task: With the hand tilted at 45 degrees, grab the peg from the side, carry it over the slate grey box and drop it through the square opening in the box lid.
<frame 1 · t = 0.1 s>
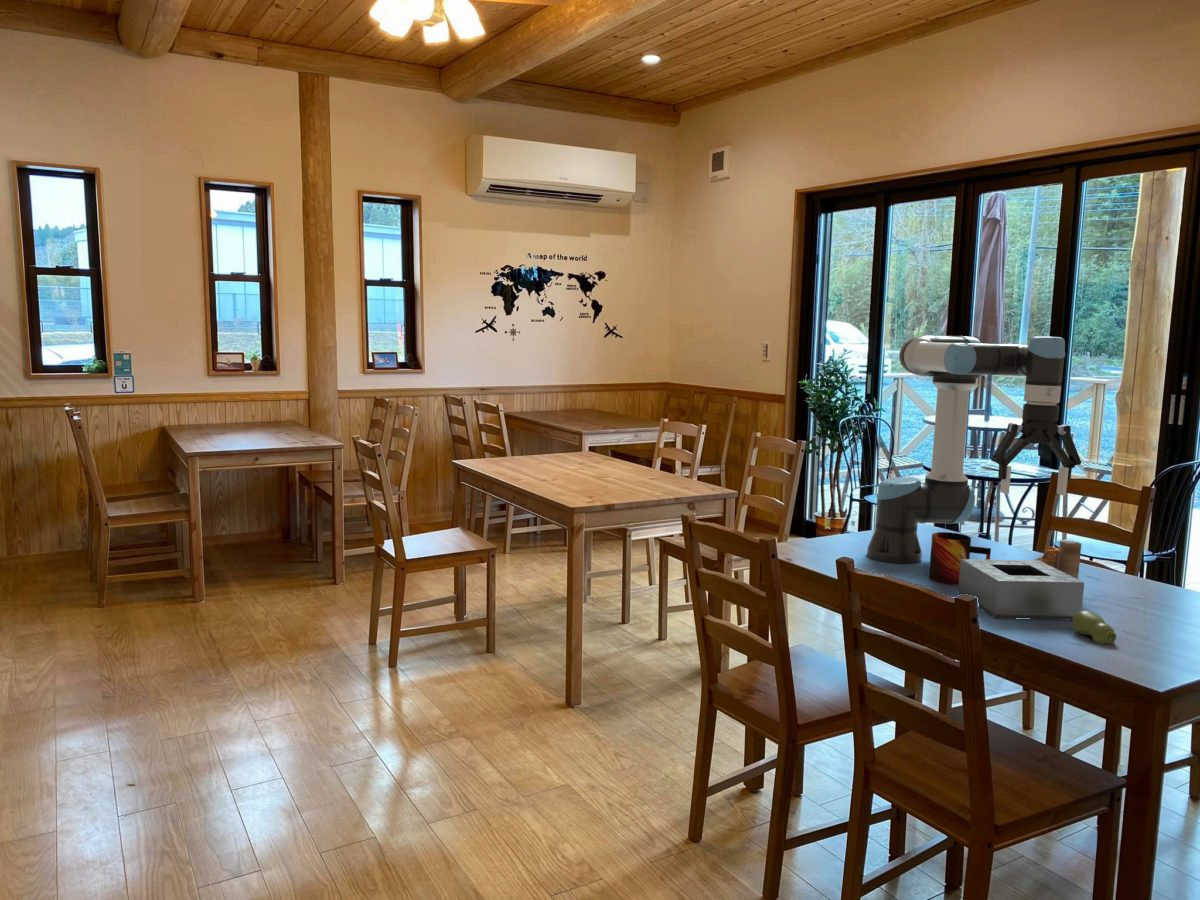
hand: (1032, 493, 209), 28 cm above the table, tool pointing down, fingers open, 13 cm apart
peg: (1065, 597, 224), on the table
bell: (1050, 574, 249), on the table
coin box: (1016, 606, 215), on the table
mug: (955, 581, 238), on the table
pear: (1093, 639, 193), on the table
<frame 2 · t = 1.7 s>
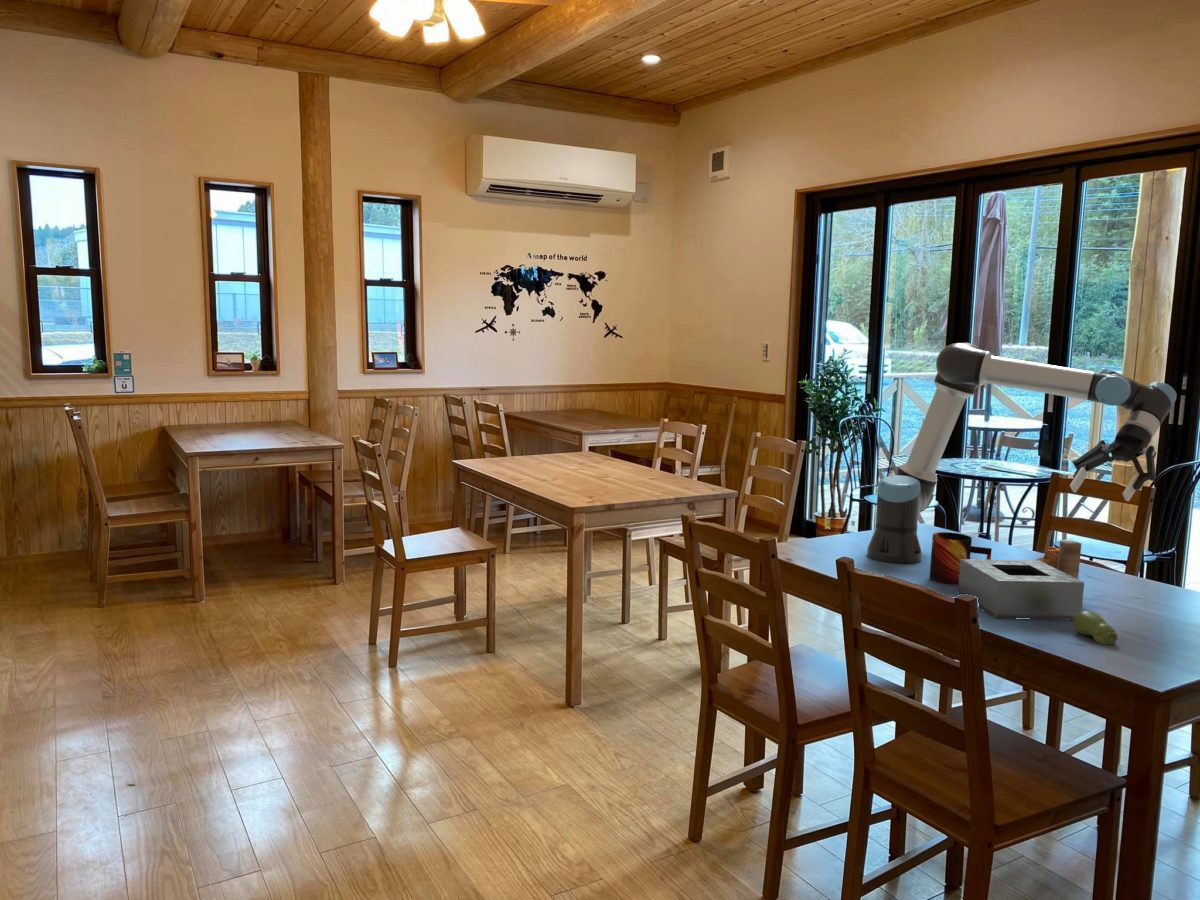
hand: (1098, 493, 226), 26 cm above the table, tool tilted 45°, fingers open, 13 cm apart
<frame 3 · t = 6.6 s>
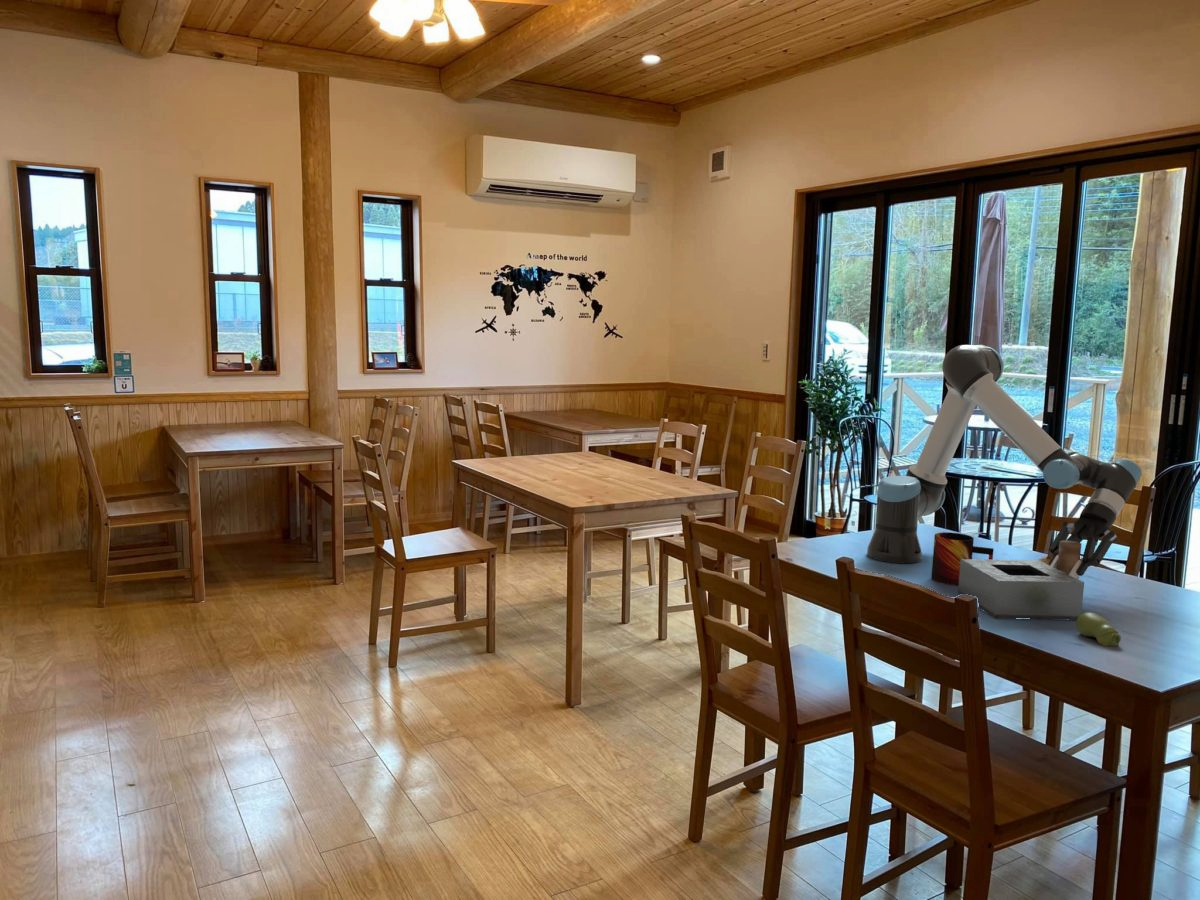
hand: (1058, 580, 222), 5 cm above the table, tool tilted 45°, fingers closed on peg, 5 cm apart
peg: (1065, 597, 224), on the table, touching gripper
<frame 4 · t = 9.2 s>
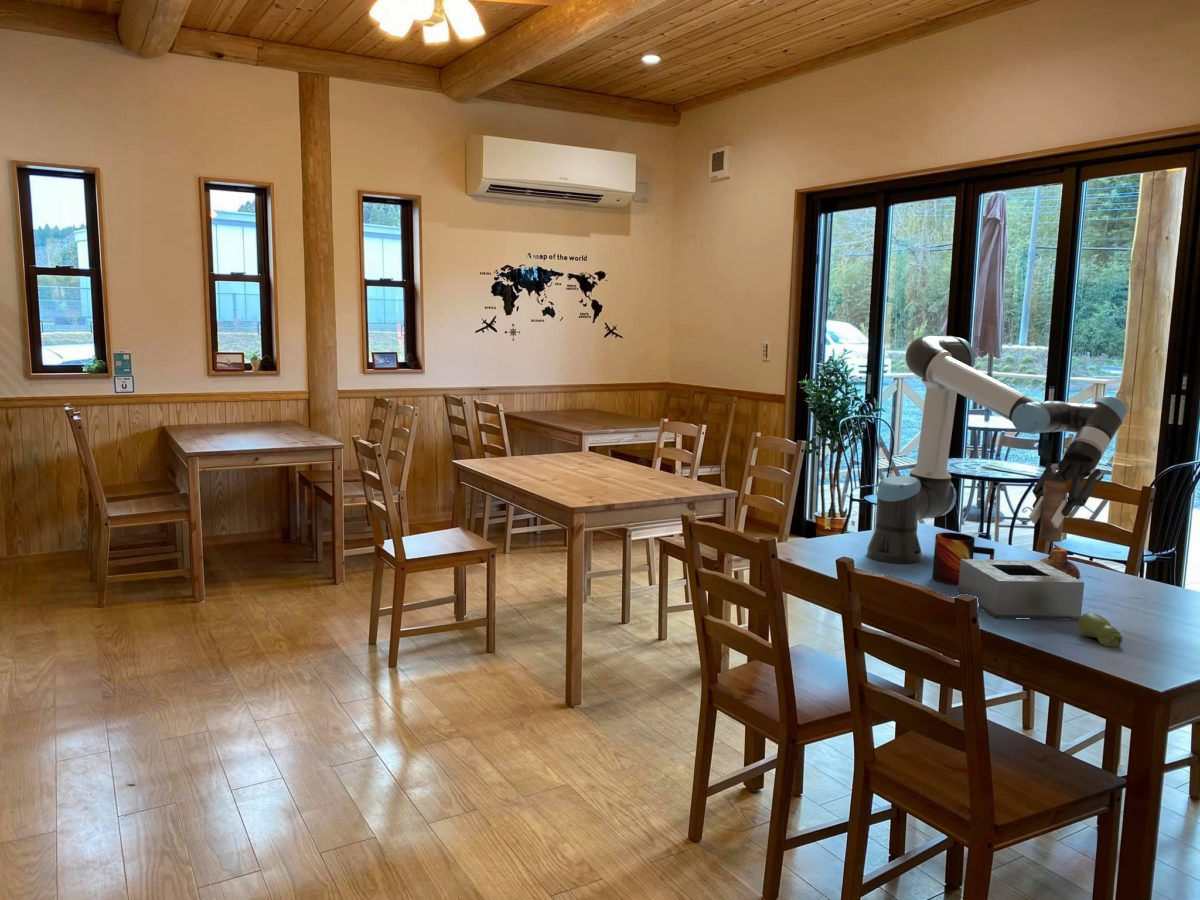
hand: (1043, 522, 213), 21 cm above the table, tool tilted 45°, fingers closed on peg, 5 cm apart
peg: (1050, 539, 216), point 16 cm above the table, touching gripper
when the fingers open (14 cm above the table, at t = 12.2 s): peg drops 8 cm, resting on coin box.
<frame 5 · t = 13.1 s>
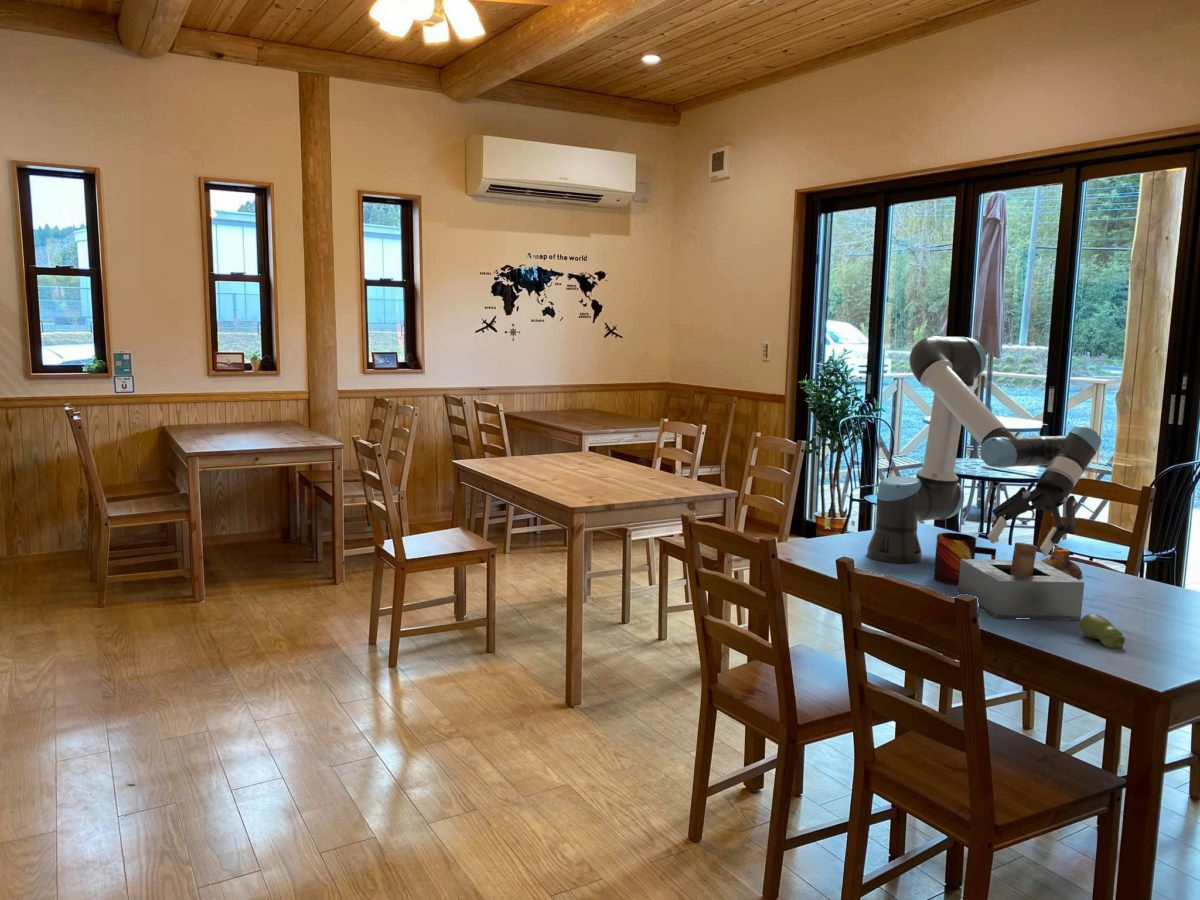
hand: (1016, 546, 212), 15 cm above the table, tool tilted 45°, fingers open, 13 cm apart
peg: (1016, 601, 215), point 1 cm above the table, touching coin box
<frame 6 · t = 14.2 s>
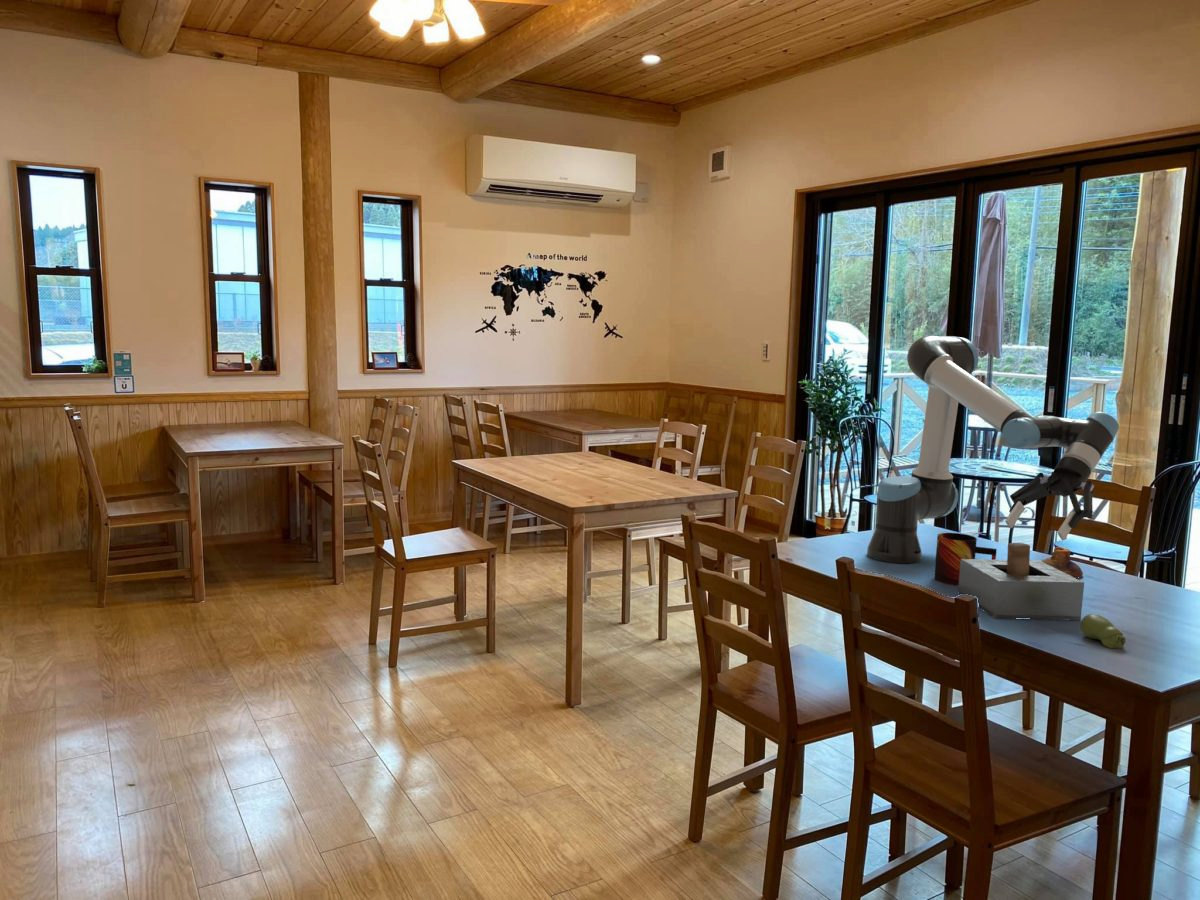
hand: (1033, 530, 215), 18 cm above the table, tool tilted 45°, fingers open, 13 cm apart
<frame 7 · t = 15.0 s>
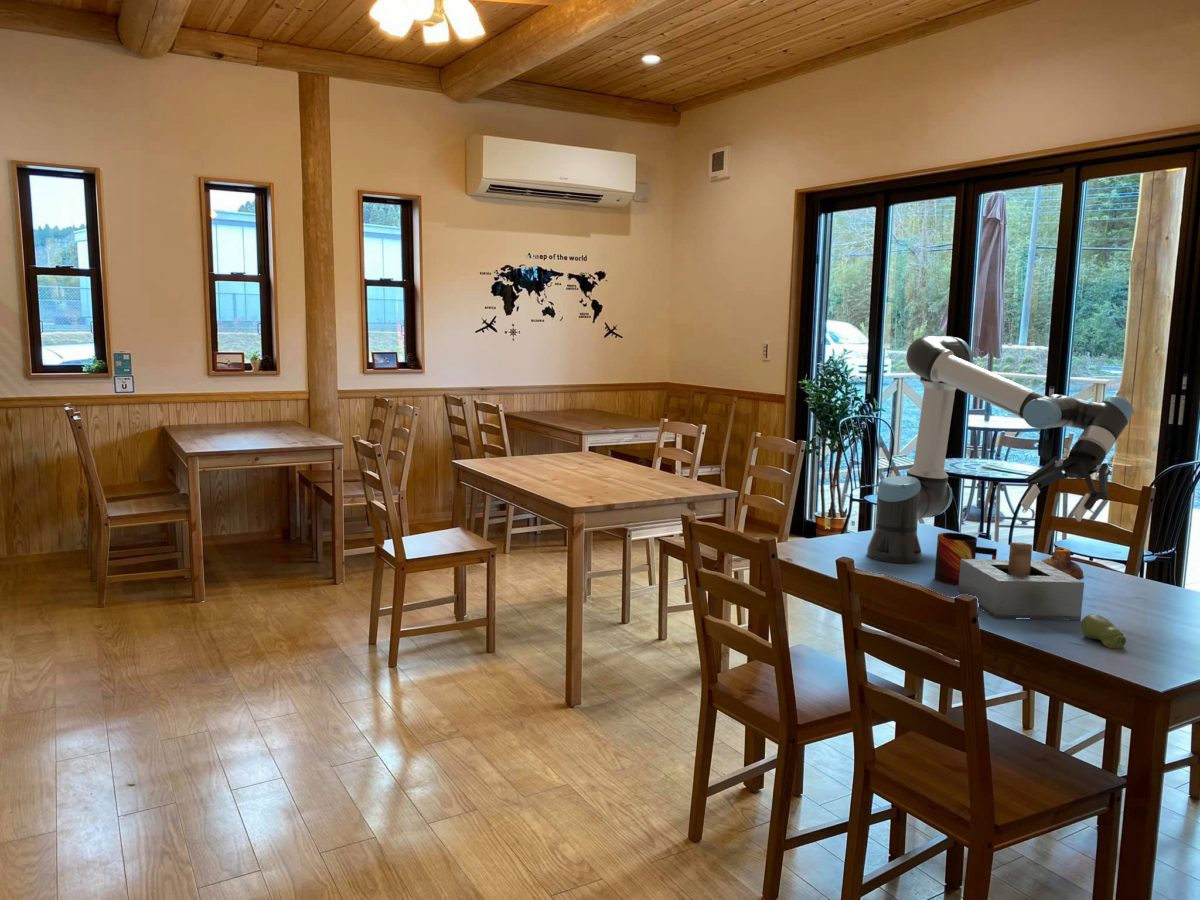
hand: (1049, 512, 217), 22 cm above the table, tool tilted 45°, fingers open, 13 cm apart
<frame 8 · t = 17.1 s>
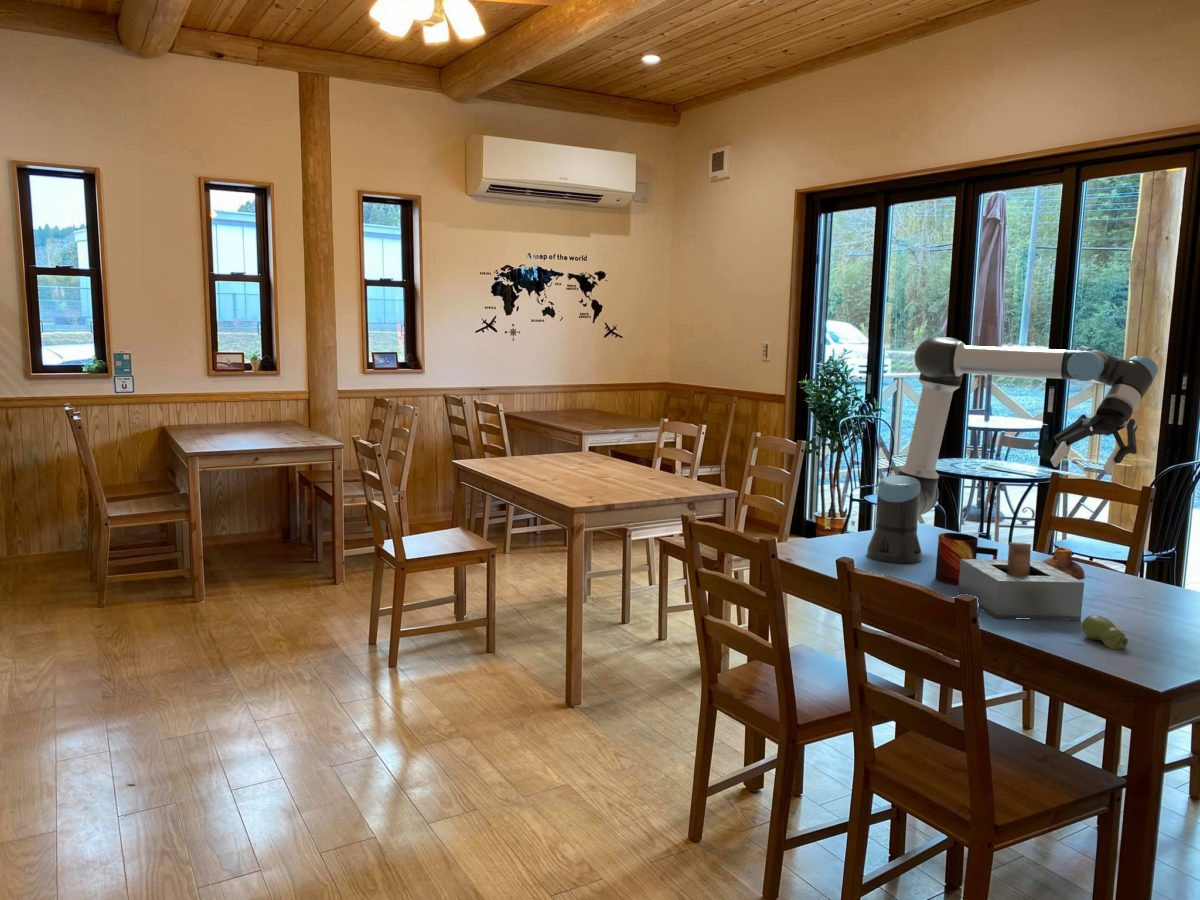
hand: (1079, 467, 223), 33 cm above the table, tool tilted 45°, fingers open, 13 cm apart
at the end: peg inside the target area on the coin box (0.1 cm from its centre), point 1.2 cm above the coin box's base; the gripper is holding nothing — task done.
